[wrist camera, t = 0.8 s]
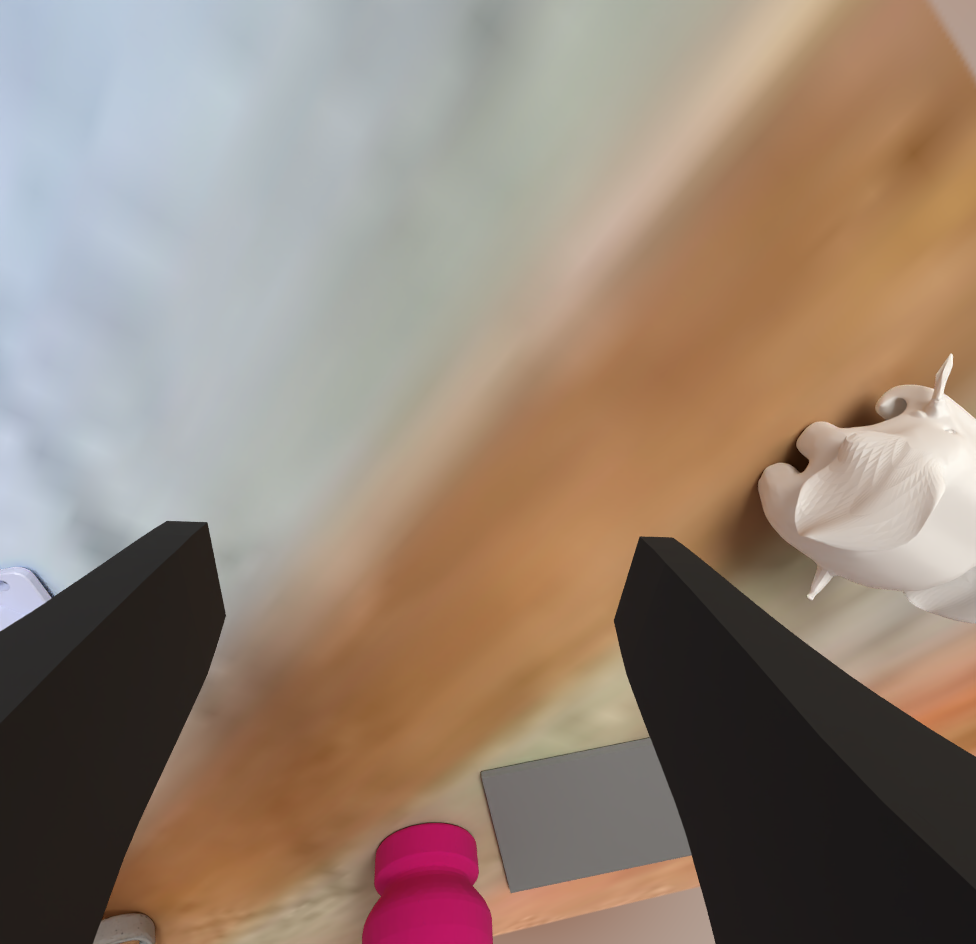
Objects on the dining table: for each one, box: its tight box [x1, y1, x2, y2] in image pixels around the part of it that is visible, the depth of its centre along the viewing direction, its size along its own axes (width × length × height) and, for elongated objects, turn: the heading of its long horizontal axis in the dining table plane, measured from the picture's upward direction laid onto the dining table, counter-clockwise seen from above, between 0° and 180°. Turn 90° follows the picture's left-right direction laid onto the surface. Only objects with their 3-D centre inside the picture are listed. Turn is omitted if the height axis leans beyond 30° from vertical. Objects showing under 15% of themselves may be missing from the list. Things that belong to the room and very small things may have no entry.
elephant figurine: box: [758, 354, 976, 623], centre depth 19 cm, size 8×10×7 cm
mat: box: [481, 738, 692, 893], centre depth 34 cm, size 20×14×1 cm
